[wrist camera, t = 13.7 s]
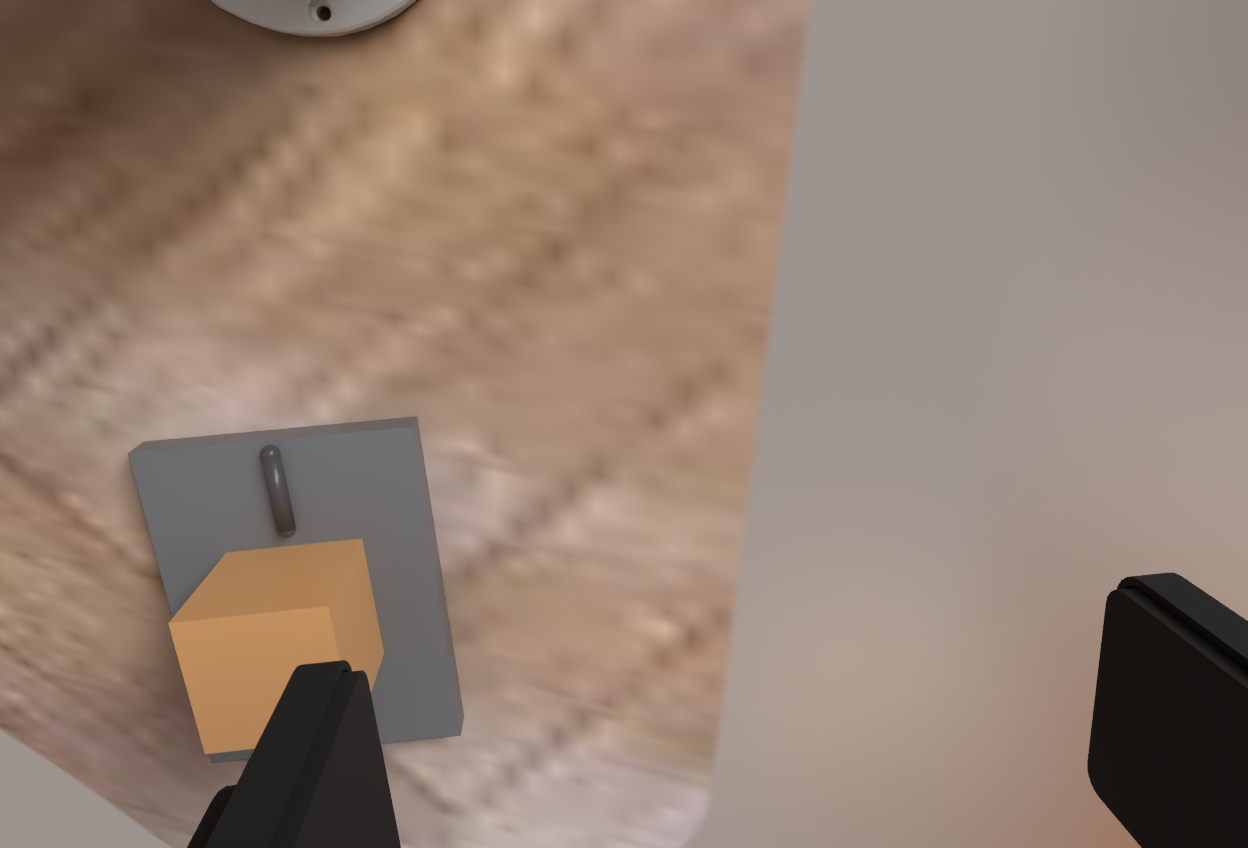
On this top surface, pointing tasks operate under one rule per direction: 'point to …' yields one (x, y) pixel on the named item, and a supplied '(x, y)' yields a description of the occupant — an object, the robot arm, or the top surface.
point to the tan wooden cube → (271, 632)
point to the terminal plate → (318, 540)
